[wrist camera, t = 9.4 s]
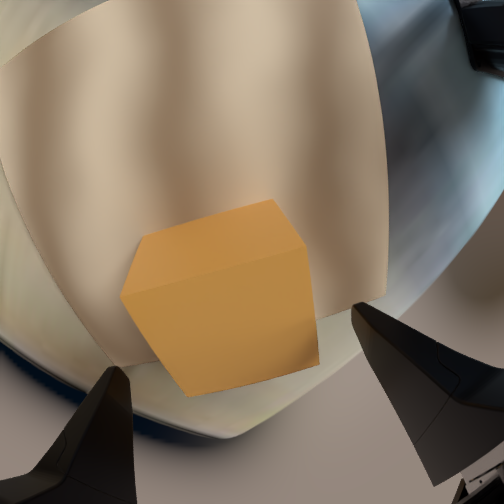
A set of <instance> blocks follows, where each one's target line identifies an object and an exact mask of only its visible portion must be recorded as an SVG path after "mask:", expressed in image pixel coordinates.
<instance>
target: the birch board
mask: <svg viewBox="0 0 504 504" xmlns="http://www.w3.org/2000/svg"><path fill="white" fill-rule="evenodd" d="M0 159H1V162H2V166H3V169H4V172H5V175H6V177H7V180H8V183H9V186H10V189H11V191H12V194H13V196H14V199H15V201H16V204H17V206H18V209H19V211H20V213H21V216H22V218H23V220H24V222H25V225H26V227H27V229H28V231H29V233H30V235H31V237H32V239H33V241H34V243H35V245H36V247H37V249H38V251H39V253H40V255H41V257H42V259H43V261H44V262H45V264H46V266H47V268H48V270H49V271H50V273H51V275H52V277H53V278H54V280H55V282H56V283H57V285H58V287H59V288H60V290H61V292H62V293H63V295H64V296H65V298H66V300H67V301H68V303H69V304H70V306H71V307H72V309H73V310H74V312H75V313H76V315H77V316H78V318H79V319H80V320H81V322H82V323H83V325H84V326H85V327H86V329H87V330H88V332H89V333H90V334H91V336H92V337H93V338H94V340H95V341H96V342H97V344H98V345H99V346H100V348H101V349H102V350H103V351H104V353H105V354H106V355H107V356H108V358H109V359H110V360H111V361H112V362H113V364H114V365H115V366H118V367H126V366H132V365H138V364H144V363H149V362H155V361H160V360H159V358H158V357H157V355H156V354H155V353H154V351H153V350H152V348H151V347H150V345H149V344H148V342H147V341H146V339H145V338H144V336H143V335H142V333H141V332H140V330H139V328H138V327H137V325H136V324H135V322H134V321H133V319H132V317H131V316H130V314H129V312H128V311H127V309H126V307H125V306H124V304H123V302H122V301H121V299H120V294H121V291H122V289H123V286H124V283H125V280H126V278H127V275H128V272H129V270H130V267H131V265H132V262H133V259H134V257H135V254H136V252H137V249H138V247H139V245H140V242H141V240H142V237H143V236H145V235H148V234H151V233H154V232H157V231H160V230H164V229H167V228H170V227H173V226H177V225H180V224H183V223H187V222H190V221H193V220H197V219H200V218H204V217H207V216H211V215H214V214H218V213H221V212H225V211H228V210H232V209H235V208H239V207H243V206H247V205H250V204H254V203H258V202H262V201H265V200H269V199H273V200H274V201H275V202H276V204H277V205H278V207H279V208H280V209H281V211H282V212H283V213H284V215H285V216H286V218H287V219H288V220H289V222H290V223H291V225H292V226H293V227H294V229H295V230H296V232H297V233H298V235H299V236H300V237H301V239H302V240H303V242H304V243H305V245H306V247H307V254H308V261H309V269H310V277H311V285H312V293H313V302H314V311H315V320H318V319H321V318H324V317H327V316H330V315H333V314H336V313H339V312H342V311H344V310H347V309H350V308H352V305H353V304H356V303H358V302H365V303H366V302H369V301H372V300H374V299H377V298H380V297H382V296H385V295H386V283H387V268H388V246H389V194H388V172H387V157H386V146H385V136H384V127H383V119H382V111H381V105H380V98H379V92H378V86H377V81H376V75H375V70H374V65H373V61H372V56H371V52H370V48H369V43H368V39H367V36H366V32H365V28H364V24H363V21H362V17H361V14H360V11H359V8H358V4H357V1H356V0H109V1H107V2H104V3H102V4H100V5H98V6H96V7H94V8H92V9H89V10H87V11H85V12H84V13H82V14H80V15H78V16H76V17H74V18H72V19H70V20H69V21H67V22H65V23H63V24H62V25H60V26H58V27H57V28H55V29H53V30H52V31H50V32H49V33H47V34H45V35H44V36H42V37H41V38H39V39H38V40H36V41H35V42H33V43H32V44H31V45H29V46H28V47H26V48H25V49H24V50H22V51H21V52H20V53H18V54H17V55H16V56H14V57H13V58H12V59H11V60H9V61H8V62H7V63H6V64H4V65H3V66H2V67H1V68H0Z"/></svg>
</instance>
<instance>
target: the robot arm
mask: <svg viewBox="0 0 504 504" xmlns="http://www.w3.org/2000/svg"><path fill="white" fill-rule="evenodd" d="M455 2H456V5H457V8H458V12H459V15H460V18H461V22H462V25H463V29H464V33H465V37H466V41H467V46H468V50H469V55H470V61H471V65H472V67H473V69H474V70H476V71H480V72H484V73H488V74H492V75H496V76H500V77H504V0H484V1H483V0H455ZM351 321H352V326H353V328H354V330H355V333H356V335H357V337H358V340H359V342H360V344H361V347H362V349H363V351H364V354H365V356H366V358H367V360H368V362H369V364H370V366H371V368H372V369H373V371H374V373H375V375H376V376H377V378H378V380H379V382H380V383H381V385H382V387H383V389H384V391H385V393H386V394H387V396H388V398H389V400H390V401H391V403H392V405H393V407H394V409H395V411H396V413H397V415H398V416H399V418H400V420H401V422H402V424H403V426H404V428H405V430H406V432H407V434H408V436H409V437H410V439H411V441H412V443H413V445H414V447H415V449H416V451H417V453H418V455H419V457H420V459H421V462H422V463H423V465H424V468H425V470H426V472H427V474H428V476H429V478H430V480H431V482H432V484H433V486H434V487H435V486H437V485H439V484H440V483H442V482H444V481H446V480H447V479H449V478H451V477H453V476H454V475H456V474H457V473H459V472H461V474H462V476H463V479H461V481H460V484H459V486H458V489H457V492H456V494H455V497H454V499H453V502H452V504H504V369H501V368H496V367H493V366H490V365H488V364H485V363H483V362H480V361H478V360H475V359H473V358H470V357H468V356H466V355H463V354H461V353H459V352H457V351H454V350H453V349H451V348H449V347H447V346H445V345H443V344H441V343H439V342H436V341H435V340H434V339H432V338H430V337H428V336H426V335H424V334H422V333H420V332H419V331H417V330H415V329H413V328H411V327H409V326H408V325H406V324H404V323H402V322H400V321H398V320H396V319H395V318H393V317H391V316H389V315H387V314H385V313H383V312H382V311H380V310H378V309H376V308H374V307H372V306H370V305H368V304H367V303H365V302H358V303H356V304H353V305H352V308H351ZM133 456H134V454H133V413H132V402H131V390H130V381H129V378H128V377H127V376H126V375H125V373H124V372H123V371H122V370H121V369H120V368H119V367H118V366H111V367H108V368H107V369H106V371H105V372H104V373H103V375H102V376H101V377H100V379H99V380H98V381H97V383H96V384H95V385H94V387H93V388H92V390H91V391H90V392H89V394H88V395H87V396H86V398H85V399H84V401H83V402H82V403H81V405H80V406H79V408H78V409H77V410H76V412H75V413H74V415H73V416H72V418H71V419H70V420H69V422H68V423H67V425H66V426H65V428H64V430H63V431H62V432H61V433H60V435H59V436H58V438H57V439H56V441H55V442H54V443H53V445H52V446H51V447H50V449H49V450H48V451H47V453H46V454H45V455H44V456H43V457H42V459H41V460H40V461H39V462H38V464H37V465H36V466H35V467H34V468H33V470H31V471H30V472H29V473H27V474H24V475H21V476H17V477H13V478H9V479H5V480H0V504H137V497H136V486H135V472H134V457H133Z"/></svg>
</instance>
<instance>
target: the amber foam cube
mask: <svg viewBox="0 0 504 504" xmlns="http://www.w3.org/2000/svg"><path fill="white" fill-rule="evenodd" d="M120 299H121V301H122V302H123V304H124V306H125V307H126V309H127V311H128V312H129V314H130V316H131V317H132V319H133V321H134V322H135V324H136V325H137V327H138V328H139V330H140V332H141V333H142V335H143V336H144V338H145V339H146V341H147V342H148V344H149V345H150V347H151V348H152V350H153V351H154V353H155V354H156V355H157V357H158V358H159V360H160V361H161V363H162V364H163V365H164V367H165V368H166V369H167V371H168V372H169V374H170V375H171V376H172V378H173V379H174V380H175V382H176V383H177V384H178V386H179V387H180V388H181V389H182V391H183V392H184V393H185V395H186V396H187V397H192V396H197V395H203V394H208V393H213V392H218V391H223V390H228V389H232V388H237V387H241V386H245V385H249V384H253V383H257V382H261V381H265V380H269V379H273V378H276V377H280V376H283V375H287V374H290V373H294V372H297V371H300V370H303V369H307V368H310V367H313V366H316V365H319V364H320V363H319V352H318V340H317V330H316V320H315V311H314V302H313V293H312V285H311V277H310V269H309V261H308V254H307V247H306V245H305V243H304V242H303V240H302V239H301V237H300V236H299V235H298V233H297V232H296V230H295V229H294V227H293V226H292V225H291V223H290V222H289V220H288V219H287V218H286V216H285V215H284V213H283V212H282V211H281V209H280V208H279V207H278V205H277V204H276V202H275V201H274V200H273V199H269V200H265V201H262V202H258V203H254V204H250V205H247V206H243V207H239V208H235V209H232V210H228V211H225V212H221V213H218V214H214V215H211V216H207V217H204V218H200V219H197V220H193V221H190V222H187V223H183V224H180V225H177V226H173V227H170V228H167V229H164V230H160V231H157V232H154V233H151V234H148V235H145V236H143V237H142V240H141V242H140V245H139V247H138V249H137V252H136V254H135V257H134V259H133V262H132V265H131V267H130V270H129V272H128V275H127V278H126V280H125V283H124V286H123V289H122V291H121V294H120Z"/></svg>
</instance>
